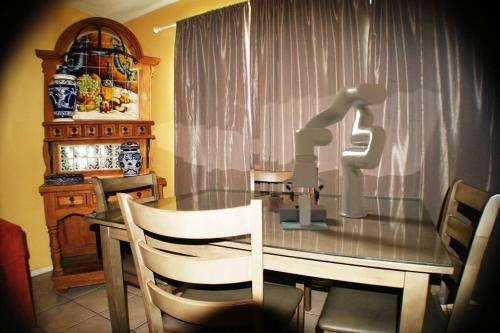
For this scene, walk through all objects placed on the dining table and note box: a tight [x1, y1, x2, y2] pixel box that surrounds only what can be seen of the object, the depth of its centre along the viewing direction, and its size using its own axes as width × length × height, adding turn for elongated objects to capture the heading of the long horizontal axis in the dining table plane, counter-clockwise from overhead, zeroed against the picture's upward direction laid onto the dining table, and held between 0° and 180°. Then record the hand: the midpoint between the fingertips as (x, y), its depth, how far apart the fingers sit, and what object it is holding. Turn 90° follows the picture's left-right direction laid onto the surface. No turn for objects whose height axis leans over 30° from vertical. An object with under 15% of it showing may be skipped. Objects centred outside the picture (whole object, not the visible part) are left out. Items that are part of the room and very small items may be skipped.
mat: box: [281, 222, 329, 231], centre depth 117 cm, size 18×8×1 cm, turn 86°
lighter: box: [267, 191, 284, 214], centre depth 142 cm, size 8×3×10 cm, turn 62°
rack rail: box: [278, 204, 328, 224], centre depth 126 cm, size 20×9×6 cm, turn 86°
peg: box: [298, 194, 311, 227], centre depth 117 cm, size 4×4×12 cm
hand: (304, 201), depth 116 cm, fingers open, 9 cm apart
